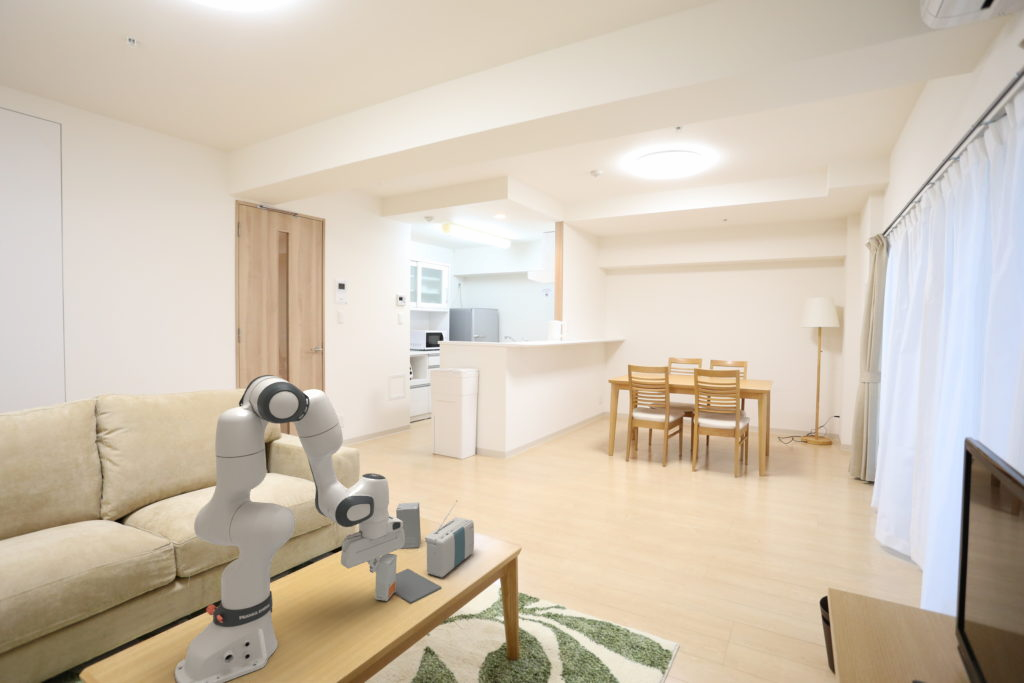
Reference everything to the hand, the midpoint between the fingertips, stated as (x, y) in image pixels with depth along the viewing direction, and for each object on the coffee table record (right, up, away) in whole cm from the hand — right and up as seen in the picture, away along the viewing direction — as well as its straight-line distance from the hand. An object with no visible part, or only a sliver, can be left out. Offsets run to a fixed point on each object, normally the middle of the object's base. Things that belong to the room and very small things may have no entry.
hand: (373, 571), depth 151 cm
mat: (+9, -9, +10) cm, 16 cm away
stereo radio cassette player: (+20, -9, +25) cm, 33 cm away
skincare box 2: (+2, -9, +40) cm, 41 cm away
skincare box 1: (+3, -9, +3) cm, 10 cm away
